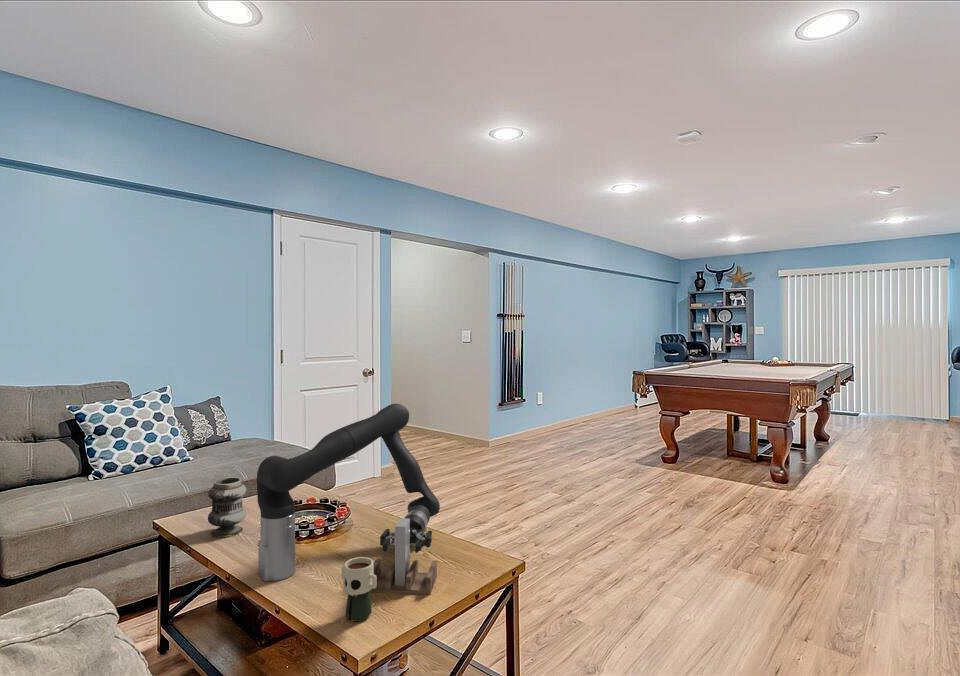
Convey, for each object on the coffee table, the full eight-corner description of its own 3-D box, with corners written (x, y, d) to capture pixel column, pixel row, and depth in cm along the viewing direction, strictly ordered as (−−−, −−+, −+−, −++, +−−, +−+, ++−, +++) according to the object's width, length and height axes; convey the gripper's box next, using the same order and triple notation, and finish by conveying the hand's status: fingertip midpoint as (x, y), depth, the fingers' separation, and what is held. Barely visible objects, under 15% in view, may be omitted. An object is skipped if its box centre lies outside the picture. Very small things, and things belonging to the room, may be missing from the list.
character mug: (331, 617, 127) (331, 563, 127) (351, 603, 133) (351, 553, 133) (365, 629, 122) (365, 574, 121) (385, 615, 128) (385, 562, 128)
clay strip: (405, 585, 141) (405, 526, 140) (394, 585, 141) (395, 526, 140) (409, 575, 146) (409, 518, 146) (399, 575, 147) (399, 518, 146)
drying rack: (430, 594, 138) (430, 577, 138) (366, 591, 139) (366, 574, 139) (436, 576, 148) (436, 560, 148) (376, 574, 149) (376, 558, 149)
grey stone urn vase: (222, 541, 172) (222, 487, 171) (199, 534, 177) (199, 481, 177) (254, 529, 182) (254, 478, 182) (232, 523, 188) (231, 473, 188)
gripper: (390, 513, 158) (375, 534, 142) (436, 514, 157) (426, 536, 141) (390, 537, 158) (375, 561, 142) (436, 539, 157) (426, 563, 141)
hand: (400, 548), depth 142 cm, fingers open, 8 cm apart
